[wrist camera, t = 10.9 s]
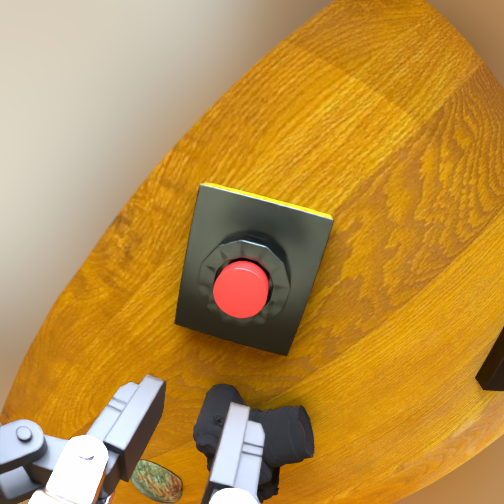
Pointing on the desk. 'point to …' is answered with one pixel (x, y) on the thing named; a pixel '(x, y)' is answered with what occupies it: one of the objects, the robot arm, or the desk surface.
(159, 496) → the seashell
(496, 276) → the desk surface
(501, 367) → the hob panel
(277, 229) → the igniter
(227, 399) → the film camera
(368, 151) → the desk surface
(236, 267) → the button
